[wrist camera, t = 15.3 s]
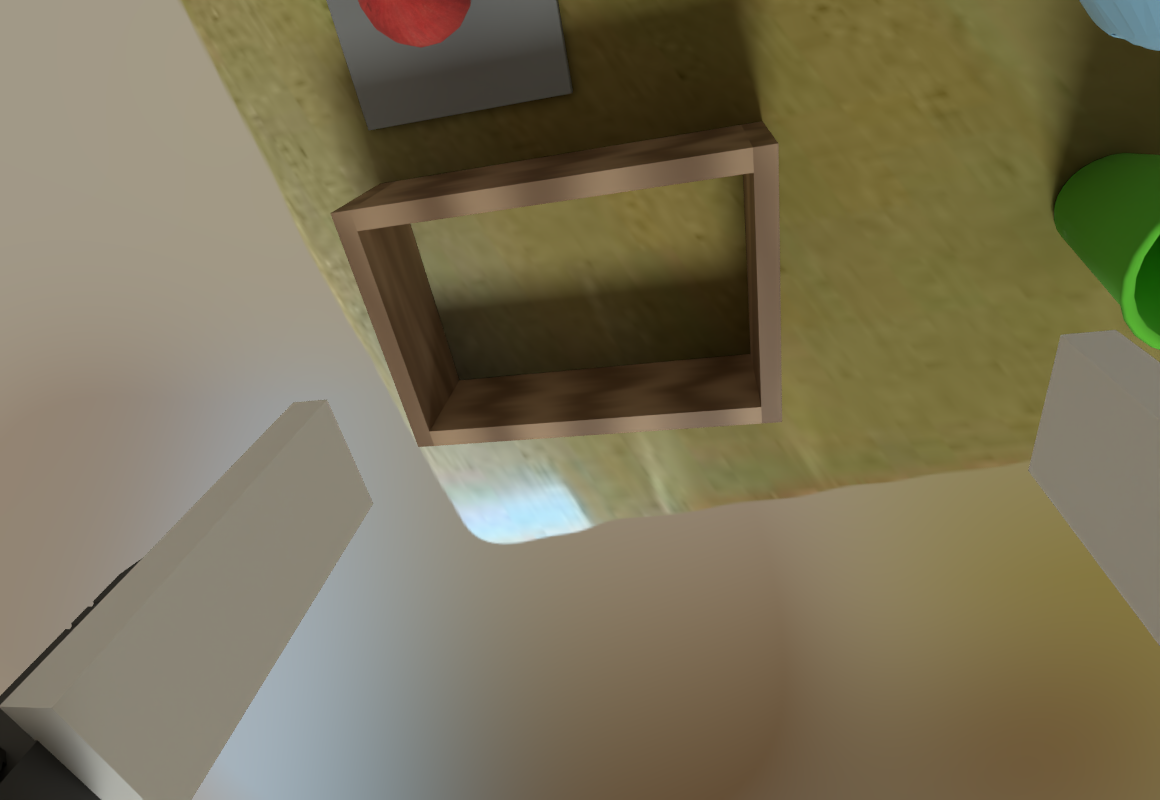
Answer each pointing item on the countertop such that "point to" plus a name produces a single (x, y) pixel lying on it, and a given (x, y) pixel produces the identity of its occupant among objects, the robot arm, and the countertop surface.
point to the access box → (585, 395)
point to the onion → (416, 19)
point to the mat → (456, 62)
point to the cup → (1118, 233)
